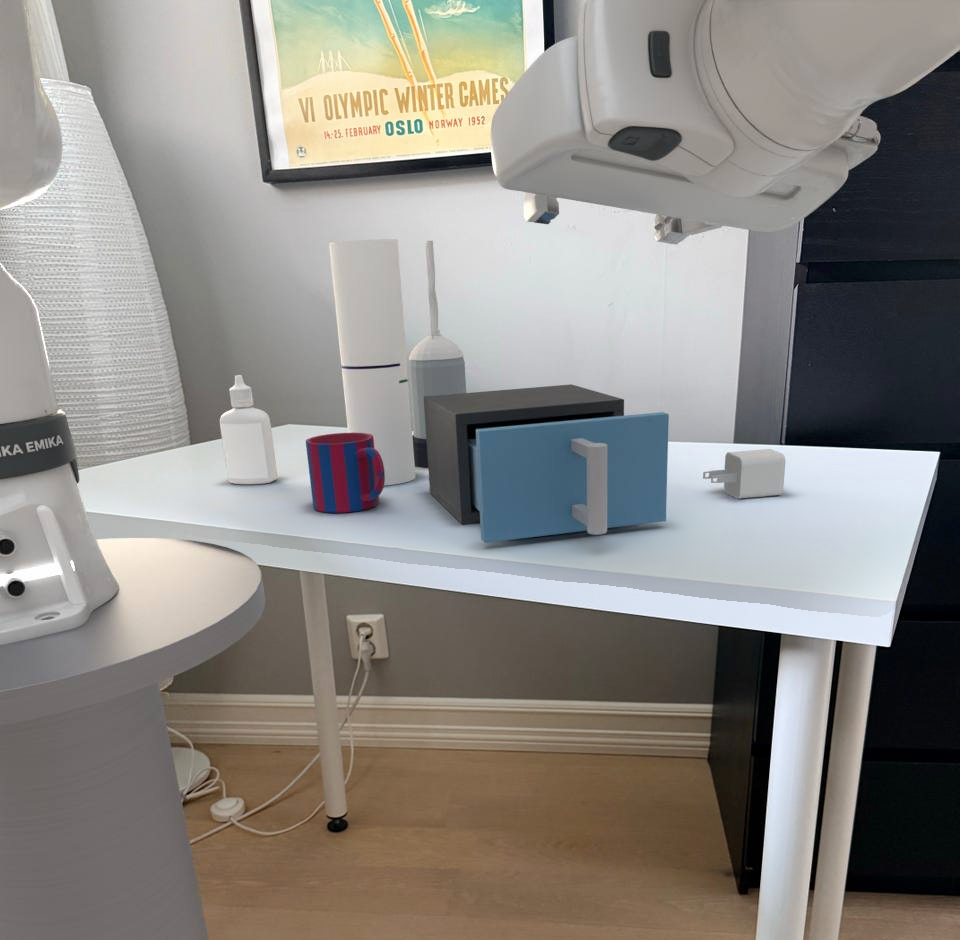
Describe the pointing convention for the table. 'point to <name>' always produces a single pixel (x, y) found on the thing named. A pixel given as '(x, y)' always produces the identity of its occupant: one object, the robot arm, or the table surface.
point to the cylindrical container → (374, 349)
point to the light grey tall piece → (432, 368)
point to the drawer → (569, 476)
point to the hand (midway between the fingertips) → (600, 222)
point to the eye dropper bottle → (247, 439)
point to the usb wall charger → (751, 473)
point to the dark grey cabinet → (466, 412)
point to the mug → (344, 472)
